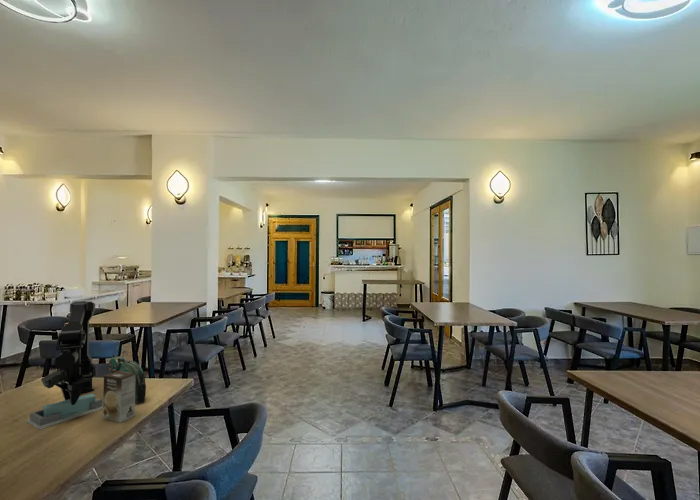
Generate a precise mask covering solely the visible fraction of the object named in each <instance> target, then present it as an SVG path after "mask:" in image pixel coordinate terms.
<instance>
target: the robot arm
mask: <svg viewBox="0 0 700 500" xmlns="http://www.w3.org/2000/svg"><path fill="white" fill-rule="evenodd" d="M95 312H96V303H95V302H93V301H86V300H81V301H80V300H79V301H78V300H77V301H73V302H71V303H69V313H70V315H69V318H68V322H67V324H65V325H64V326H62V328H61V329H60V330H61V331H60V332H59V333H58V335H57V340H56V345H55V351H60V354H59V355H58V356H57V357H56V359H55V361H54V364H55V366H56V367H57V370H56V371H53V372H51V373H50V374H47V375H46V376H44V377H42V378H41V379H40V381H41V382H42V385H43V387H44V388H47V389H51V388H53V387H55V386H56V387H58V388H60V390H61V393H62V396H63V398H64V400H68V399H70V400H71V405H75V404H76V402H77V400H78V398H79V397H80V396H82V395H83V394H86V393H89V392H92V391H94V390H95V388H93V378H94V377H96V376H97V366H96V365H95V363H93V362H94V361H93V360H94V359H93V357H92V356H91V355H90V354H89V343H90V342H89V341H90V339H89V338H90V320H91V319H92V317H93V316H94V313H95Z"/></svg>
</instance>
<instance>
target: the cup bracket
mask: <svg viewBox="0 0 700 500" xmlns="http://www.w3.org/2000/svg"><path fill="white" fill-rule="evenodd" d="M99 410H103V399H102V398H100V399H98V398H96V397H95V401H94V402H91V403H90V408H86V409H83V410H79V411H75V412H72V413H68V414H65V415H61V412H58V413H55V414H52V415H48V416H45V417H43V412H44V408H43V409H39V410H36V411H33V412H30V414H29V418H27V419H26V422H27V423H28V424H30V425H31V426H32V427H35V428H36V429H37V430H43V429H47V428H49V427H52V426H55V425H58V424H60V423H65V422H67V421H70V420H72V419H77V418H79V417H82V416H85V415H88V414H91V413H94V412H98V411H99Z"/></svg>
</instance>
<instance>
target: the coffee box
mask: <svg viewBox="0 0 700 500" xmlns="http://www.w3.org/2000/svg"><path fill="white" fill-rule="evenodd" d="M135 381H136V373H130V372H125V371H116V372H113V373H112V372H110V373H107V374H105V375H103V395H102V396H103V397H102V398H103V399H102V400H103V409H102V419H103V420H105V421H106V420H107V421H111V422H115V423H119V424H120V423H122V422H125V421H127V420H129V419H131V418H132V417H135V415H136V414H135V413H136V412H135V411H136V404H135Z"/></svg>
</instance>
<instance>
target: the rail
mask: <svg viewBox="0 0 700 500" xmlns="http://www.w3.org/2000/svg"><path fill="white" fill-rule="evenodd" d="M95 398H96V395H95V394H94V393H89V394H85V395H80V396H79V398H78V400H77V402H76V404H75V405H71V400H70V399H68V400H65V399H64V400H60V401H57V402H53V403H48V404H44V405H43V409H44V412H43V417H45V416H48V415H52V414H55V413H58V412H61V415H65V414H68V413H72V412H75V411H79V410H83V409H86V408H90V403H91V402H94V401H95Z"/></svg>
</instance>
